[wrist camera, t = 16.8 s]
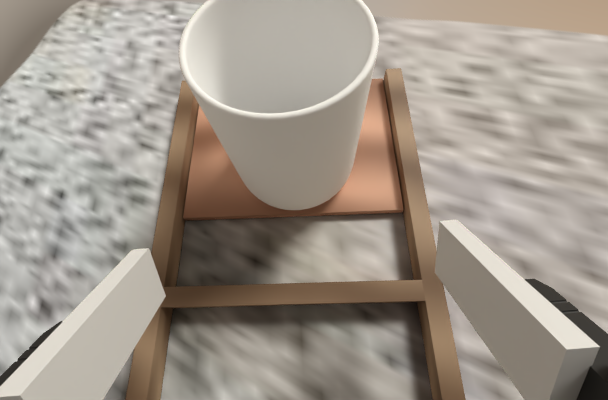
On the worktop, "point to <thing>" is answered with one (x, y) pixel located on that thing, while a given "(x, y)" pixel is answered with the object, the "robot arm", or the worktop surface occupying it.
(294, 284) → the flat wooden frame
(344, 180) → the mug
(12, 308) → the worktop surface
